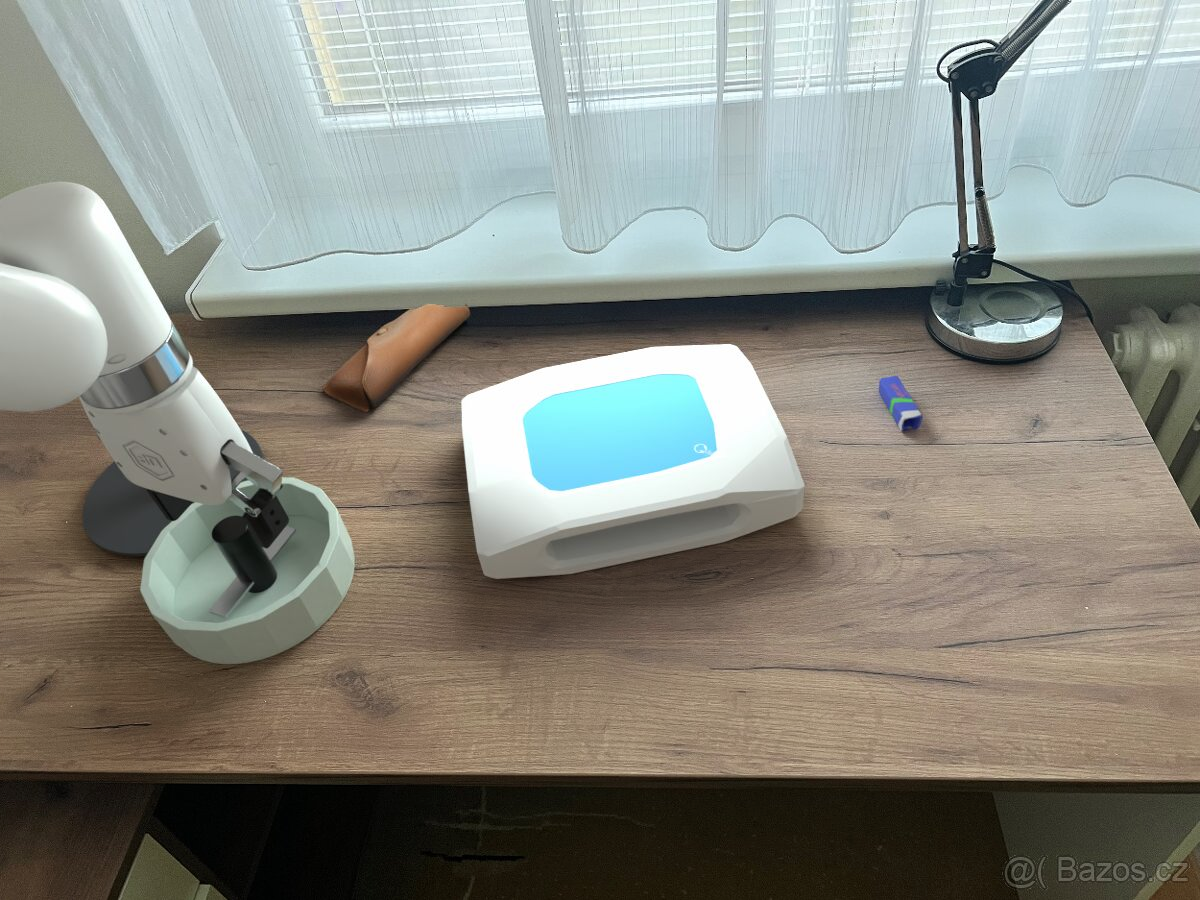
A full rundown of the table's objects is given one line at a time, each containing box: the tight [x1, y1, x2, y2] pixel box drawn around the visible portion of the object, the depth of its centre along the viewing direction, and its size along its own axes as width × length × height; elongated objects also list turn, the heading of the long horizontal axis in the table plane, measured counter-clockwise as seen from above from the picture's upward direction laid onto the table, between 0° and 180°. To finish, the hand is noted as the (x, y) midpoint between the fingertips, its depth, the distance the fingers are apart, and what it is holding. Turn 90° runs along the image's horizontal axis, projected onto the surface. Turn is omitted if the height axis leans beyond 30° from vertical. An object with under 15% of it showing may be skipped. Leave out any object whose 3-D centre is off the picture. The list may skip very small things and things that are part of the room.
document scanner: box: [460, 343, 806, 580], centre depth 81 cm, size 21×28×6 cm
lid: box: [81, 428, 265, 558], centre depth 85 cm, size 18×18×8 cm
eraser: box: [878, 375, 923, 432], centre depth 85 cm, size 2×6×2 cm, turn 7°
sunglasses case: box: [322, 303, 471, 414], centre depth 98 cm, size 18×7×7 cm
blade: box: [209, 516, 296, 618], centre depth 75 cm, size 10×3×7 cm, turn 158°
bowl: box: [139, 477, 356, 665], centre depth 76 cm, size 17×17×5 cm
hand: (228, 521), depth 73 cm, fingers open, 9 cm apart
